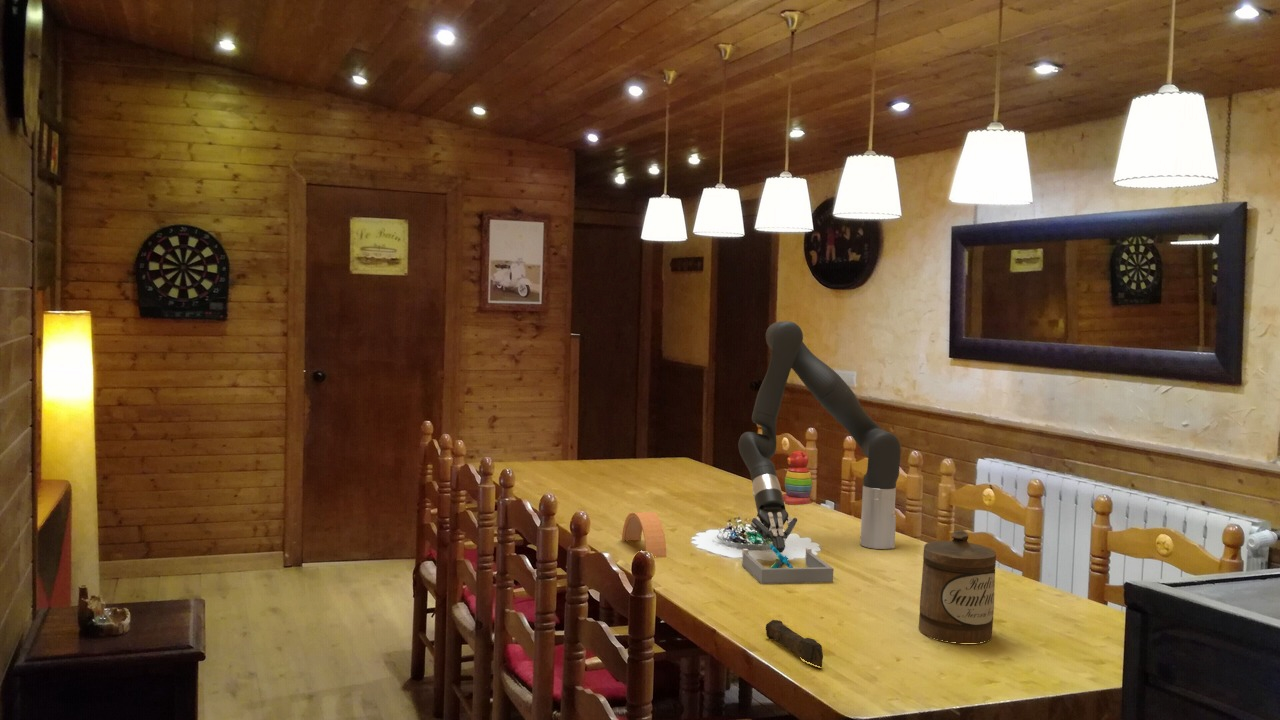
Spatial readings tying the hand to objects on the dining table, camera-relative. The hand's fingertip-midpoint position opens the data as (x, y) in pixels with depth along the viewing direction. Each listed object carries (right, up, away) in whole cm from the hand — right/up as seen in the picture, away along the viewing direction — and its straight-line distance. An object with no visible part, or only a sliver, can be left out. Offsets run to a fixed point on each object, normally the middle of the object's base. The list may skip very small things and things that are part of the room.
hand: (780, 551), depth 258 cm
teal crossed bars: (0, -5, -5) cm, 7 cm away
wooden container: (+30, -9, -47) cm, 57 cm away
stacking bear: (+18, 0, +88) cm, 90 cm away
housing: (+1, -5, -5) cm, 7 cm away
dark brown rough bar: (-5, -8, -62) cm, 63 cm away
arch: (-35, -3, +16) cm, 39 cm away
